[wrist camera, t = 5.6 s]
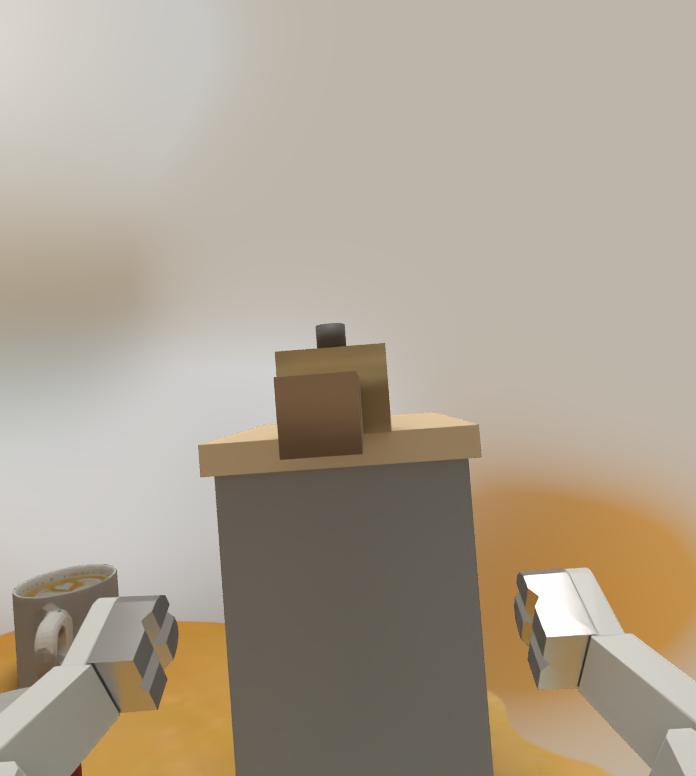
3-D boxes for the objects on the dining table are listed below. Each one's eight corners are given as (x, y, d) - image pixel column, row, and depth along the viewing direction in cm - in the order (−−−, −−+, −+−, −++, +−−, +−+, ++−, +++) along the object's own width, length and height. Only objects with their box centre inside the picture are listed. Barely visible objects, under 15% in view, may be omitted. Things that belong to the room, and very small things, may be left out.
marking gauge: (404, 450, 15) (390, 278, 15) (238, 462, 15) (226, 291, 15) (383, 418, 34) (377, 343, 34) (310, 423, 35) (305, 349, 35)
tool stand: (524, 1002, 22) (479, 424, 23) (238, 1010, 23) (197, 444, 23) (461, 758, 37) (434, 412, 38) (289, 766, 38) (264, 424, 38)
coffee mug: (50, 652, 59) (44, 568, 59) (136, 643, 60) (130, 560, 60) (-28, 727, 46) (-35, 618, 46) (83, 714, 46) (76, 607, 47)
